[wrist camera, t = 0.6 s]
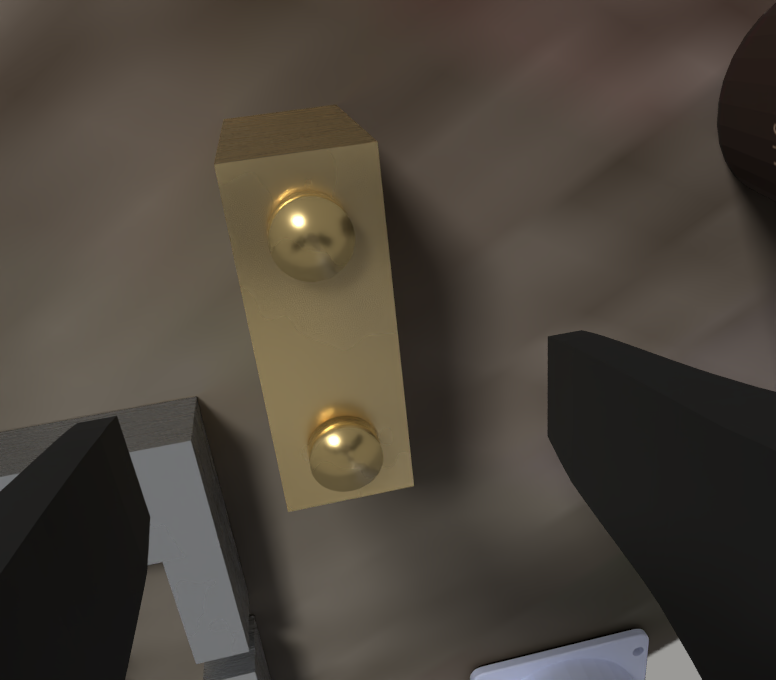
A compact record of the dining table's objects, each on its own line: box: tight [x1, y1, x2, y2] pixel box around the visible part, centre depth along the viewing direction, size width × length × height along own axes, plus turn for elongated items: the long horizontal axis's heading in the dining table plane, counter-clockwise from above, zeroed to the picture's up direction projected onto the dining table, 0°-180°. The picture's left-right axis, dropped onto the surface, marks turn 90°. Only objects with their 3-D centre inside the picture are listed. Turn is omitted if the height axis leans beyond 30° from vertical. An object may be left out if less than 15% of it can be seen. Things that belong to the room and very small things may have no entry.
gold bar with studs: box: [214, 105, 414, 512], centre depth 17 cm, size 8×3×7 cm, turn 6°
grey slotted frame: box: [0, 397, 271, 680], centre depth 23 cm, size 18×8×3 cm, turn 6°
